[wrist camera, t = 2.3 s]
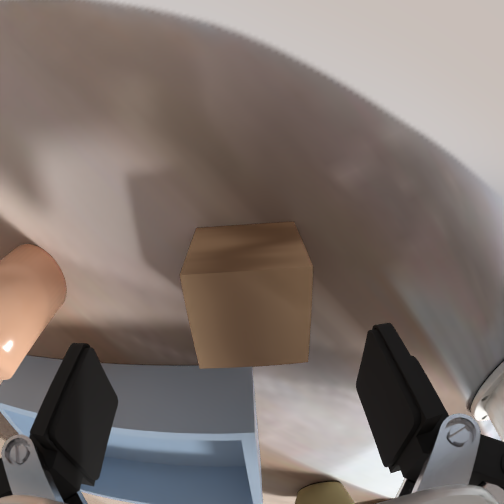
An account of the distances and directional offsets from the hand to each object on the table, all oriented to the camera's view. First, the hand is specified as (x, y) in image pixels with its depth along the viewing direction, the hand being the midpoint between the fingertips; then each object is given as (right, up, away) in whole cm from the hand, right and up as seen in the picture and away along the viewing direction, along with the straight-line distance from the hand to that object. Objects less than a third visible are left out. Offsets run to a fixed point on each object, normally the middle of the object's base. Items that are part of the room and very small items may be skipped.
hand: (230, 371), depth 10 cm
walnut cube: (0, +3, +7) cm, 8 cm away
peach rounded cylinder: (-14, +2, +7) cm, 16 cm away
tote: (-9, -11, +14) cm, 20 cm away
